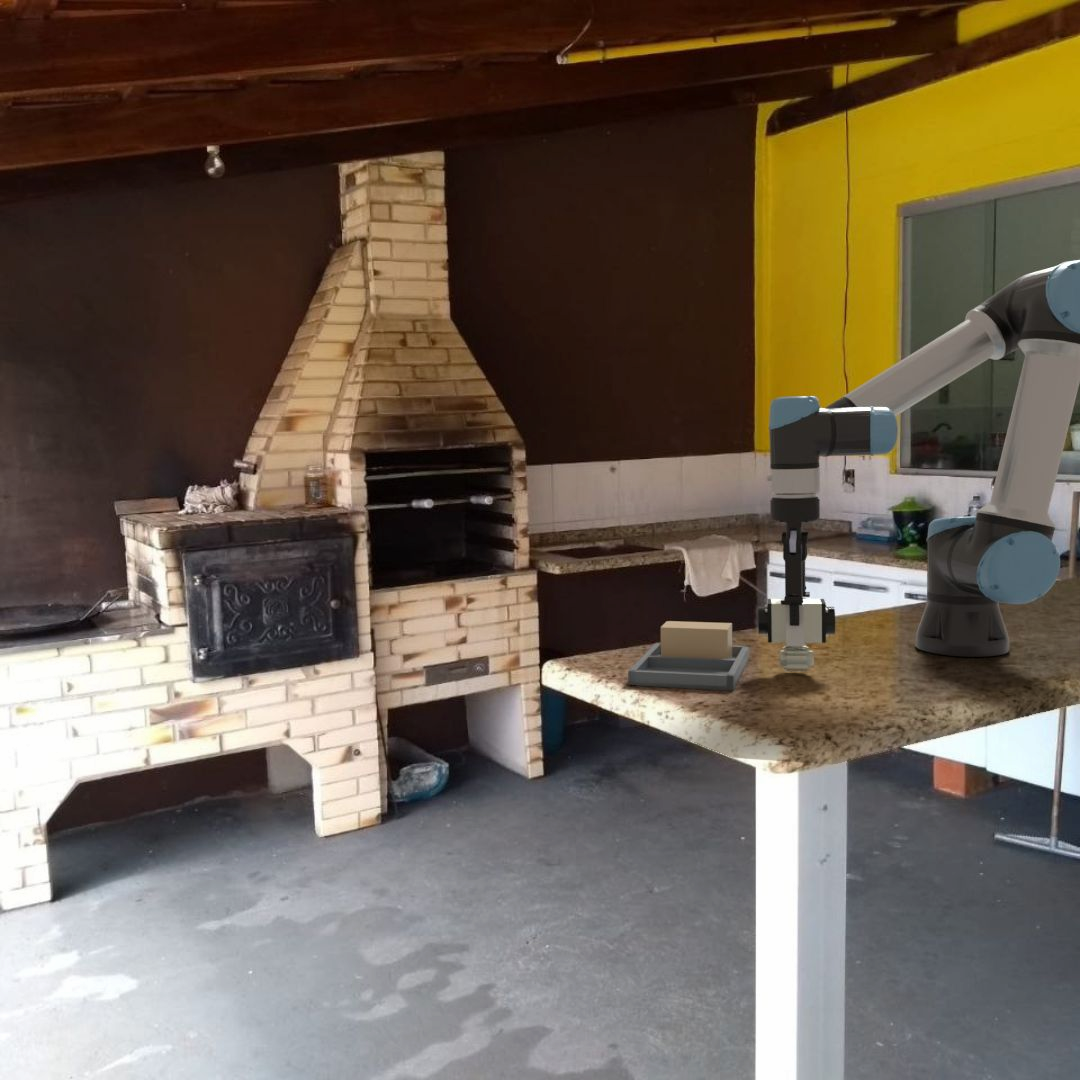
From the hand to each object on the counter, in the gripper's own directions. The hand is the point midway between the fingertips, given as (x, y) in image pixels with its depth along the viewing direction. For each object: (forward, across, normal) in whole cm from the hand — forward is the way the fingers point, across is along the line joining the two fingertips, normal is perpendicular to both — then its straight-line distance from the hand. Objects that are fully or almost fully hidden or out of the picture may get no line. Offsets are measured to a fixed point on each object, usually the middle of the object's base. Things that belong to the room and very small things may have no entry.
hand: (796, 641), depth 167 cm
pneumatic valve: (+5, 0, 0) cm, 5 cm away
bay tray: (+5, +2, -16) cm, 17 cm away
